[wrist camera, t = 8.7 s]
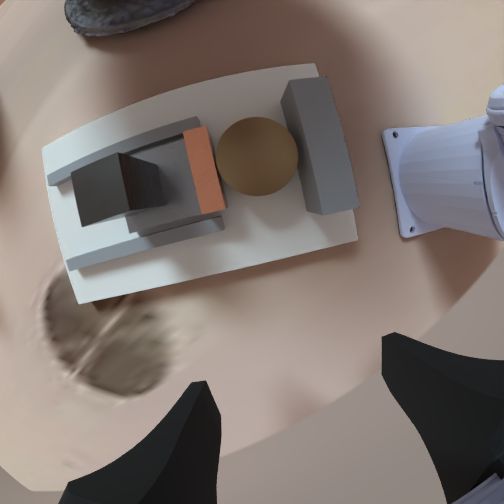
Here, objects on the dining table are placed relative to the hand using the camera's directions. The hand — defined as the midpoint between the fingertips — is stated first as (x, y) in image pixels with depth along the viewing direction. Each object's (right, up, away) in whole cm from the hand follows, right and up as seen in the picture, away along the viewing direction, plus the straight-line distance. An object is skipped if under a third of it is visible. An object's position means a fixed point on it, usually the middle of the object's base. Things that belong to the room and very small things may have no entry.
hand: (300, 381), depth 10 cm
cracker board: (-6, +10, +7) cm, 14 cm away
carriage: (-7, +9, +6) cm, 13 cm away
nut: (-2, +10, +6) cm, 12 cm away
